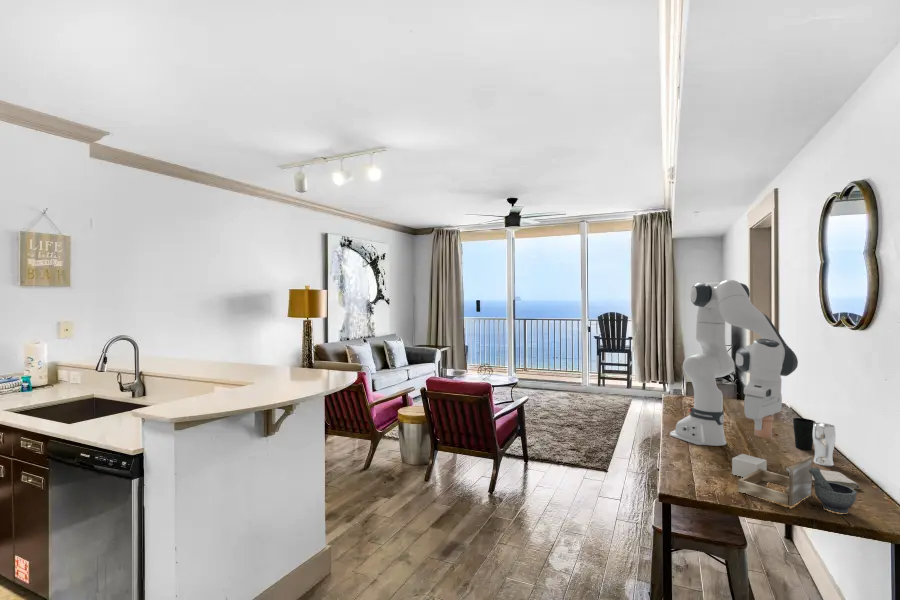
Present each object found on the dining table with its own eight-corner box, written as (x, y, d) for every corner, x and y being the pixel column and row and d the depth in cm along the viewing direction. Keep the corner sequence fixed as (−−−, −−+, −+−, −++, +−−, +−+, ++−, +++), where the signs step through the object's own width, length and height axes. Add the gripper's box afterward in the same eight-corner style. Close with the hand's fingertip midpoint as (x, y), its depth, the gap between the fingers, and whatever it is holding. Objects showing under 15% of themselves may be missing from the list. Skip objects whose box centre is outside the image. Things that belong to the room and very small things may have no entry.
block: (732, 474, 167) (732, 458, 167) (742, 469, 172) (742, 453, 172) (756, 481, 160) (757, 464, 160) (766, 476, 165) (766, 460, 165)
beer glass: (826, 467, 174) (826, 427, 174) (807, 461, 181) (808, 423, 181) (839, 465, 176) (840, 426, 176) (820, 459, 183) (821, 421, 183)
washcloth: (783, 472, 171) (783, 464, 171) (841, 478, 166) (841, 469, 166) (798, 485, 159) (798, 476, 159) (860, 491, 154) (861, 482, 154)
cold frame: (737, 492, 152) (738, 453, 152) (759, 480, 162) (760, 443, 162) (791, 509, 140) (792, 467, 140) (811, 495, 150) (812, 456, 150)
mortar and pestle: (852, 508, 141) (853, 469, 141) (859, 521, 133) (860, 479, 133) (806, 499, 147) (807, 462, 147) (810, 511, 139) (811, 471, 139)
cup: (819, 452, 192) (819, 423, 192) (798, 450, 193) (798, 422, 193) (808, 446, 199) (809, 418, 199) (788, 444, 201) (789, 417, 201)
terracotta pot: (750, 434, 157) (751, 414, 157) (757, 432, 161) (758, 412, 160) (768, 439, 153) (769, 418, 153) (775, 436, 156) (776, 416, 156)
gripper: (767, 382, 165) (765, 420, 165) (741, 389, 153) (739, 430, 154) (788, 386, 160) (786, 425, 160) (762, 393, 148) (760, 436, 148)
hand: (763, 428), depth 157 cm, fingers closed on terracotta pot, 5 cm apart
